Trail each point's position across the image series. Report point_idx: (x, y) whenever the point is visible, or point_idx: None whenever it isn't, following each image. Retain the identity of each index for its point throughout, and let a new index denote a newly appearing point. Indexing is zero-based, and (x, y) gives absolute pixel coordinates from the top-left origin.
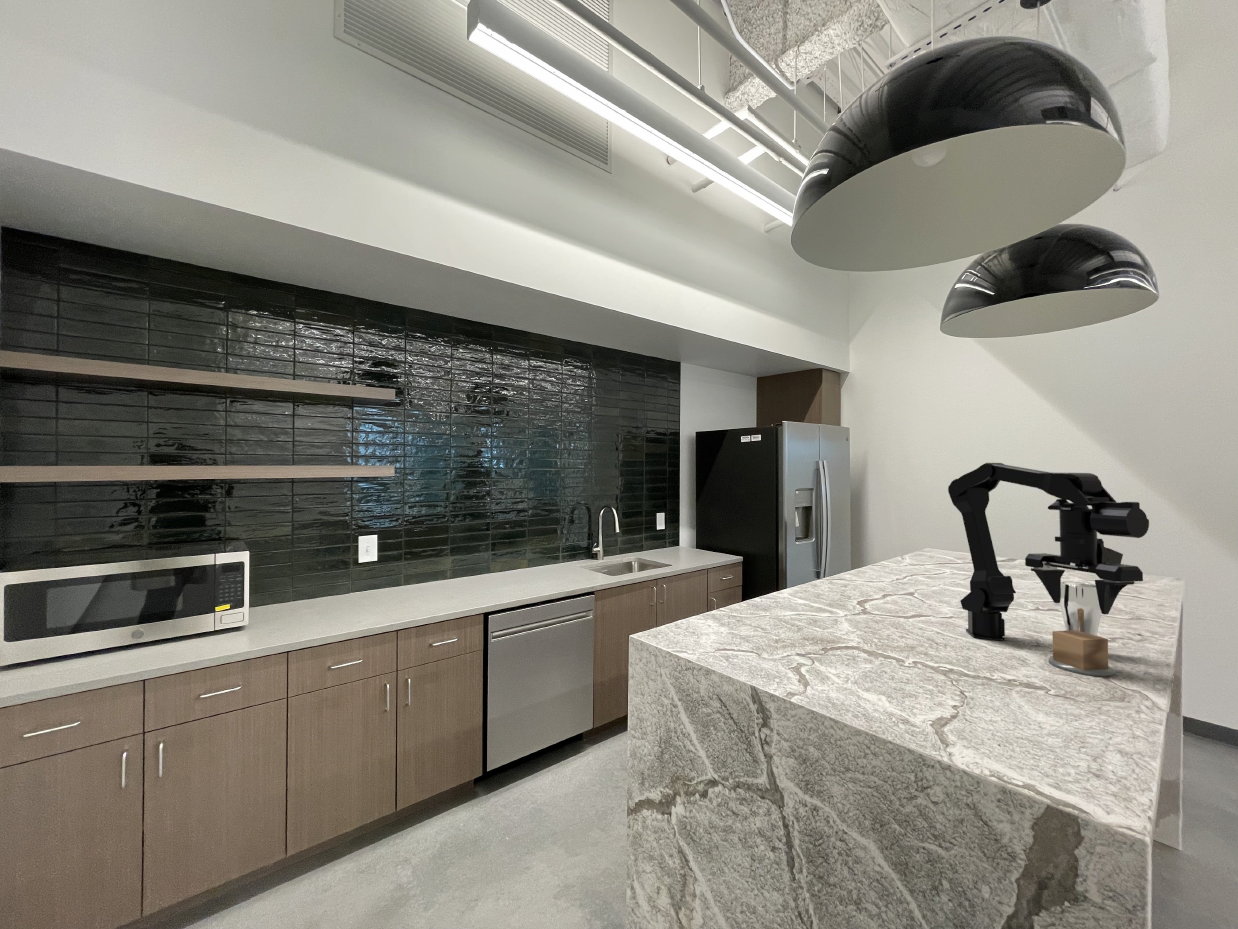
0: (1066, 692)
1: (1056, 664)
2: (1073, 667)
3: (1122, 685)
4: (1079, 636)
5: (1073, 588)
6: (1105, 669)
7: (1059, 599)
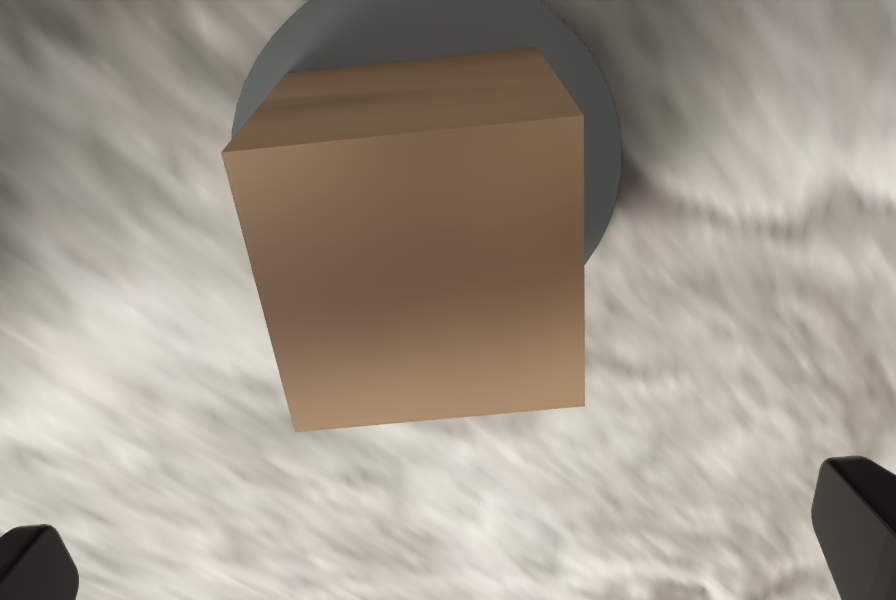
0: (742, 550)
1: None
2: None
3: (752, 202)
4: (471, 336)
5: None
6: None
7: (22, 583)
